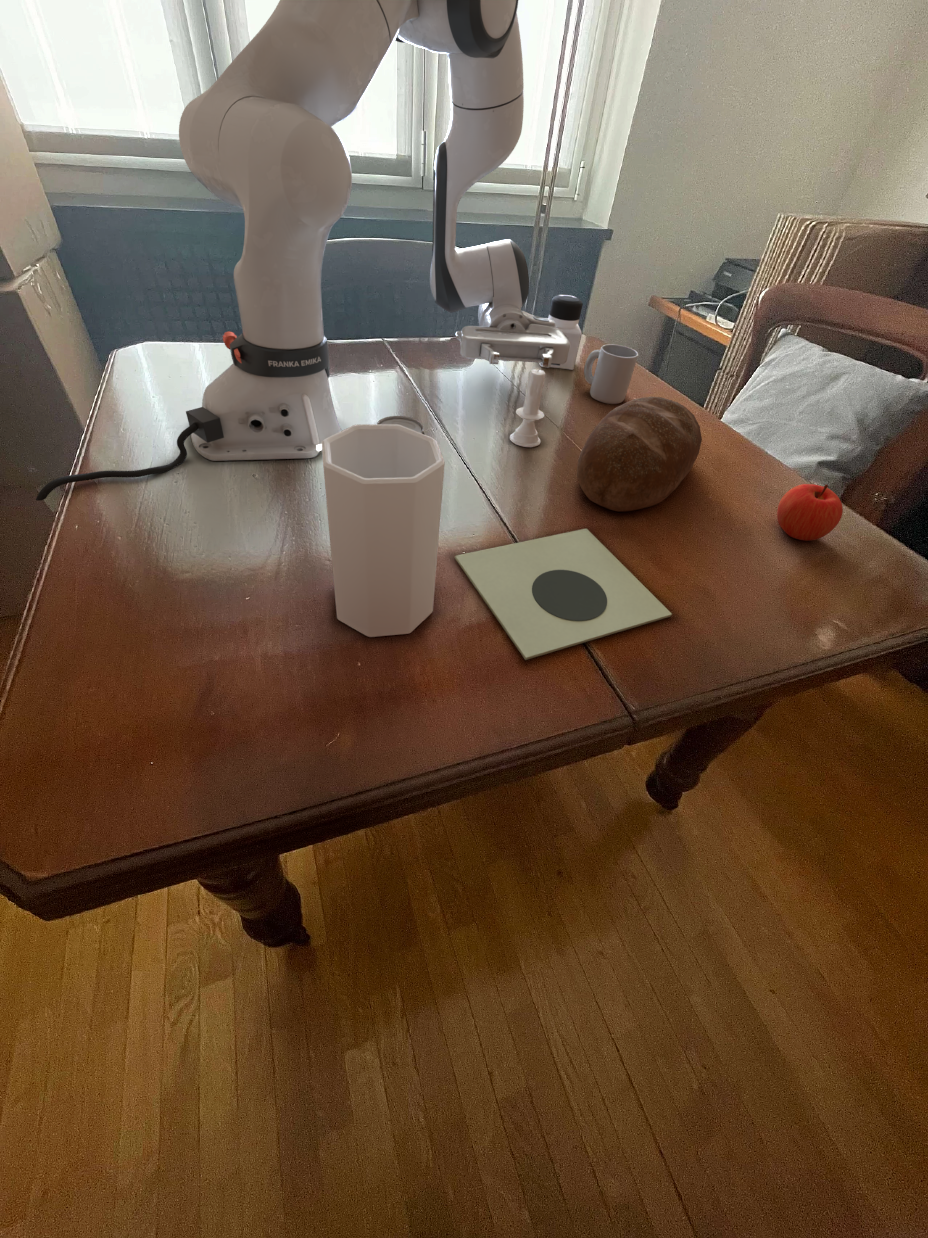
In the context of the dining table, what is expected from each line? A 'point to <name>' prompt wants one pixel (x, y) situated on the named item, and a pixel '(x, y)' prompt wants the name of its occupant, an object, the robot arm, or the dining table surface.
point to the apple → (809, 511)
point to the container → (567, 325)
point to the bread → (639, 454)
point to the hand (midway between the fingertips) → (521, 361)
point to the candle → (530, 411)
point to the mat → (559, 591)
